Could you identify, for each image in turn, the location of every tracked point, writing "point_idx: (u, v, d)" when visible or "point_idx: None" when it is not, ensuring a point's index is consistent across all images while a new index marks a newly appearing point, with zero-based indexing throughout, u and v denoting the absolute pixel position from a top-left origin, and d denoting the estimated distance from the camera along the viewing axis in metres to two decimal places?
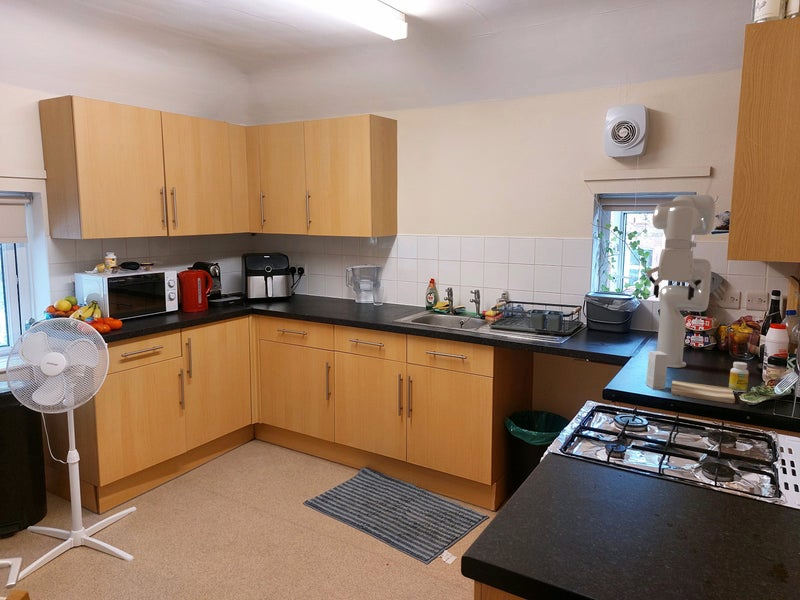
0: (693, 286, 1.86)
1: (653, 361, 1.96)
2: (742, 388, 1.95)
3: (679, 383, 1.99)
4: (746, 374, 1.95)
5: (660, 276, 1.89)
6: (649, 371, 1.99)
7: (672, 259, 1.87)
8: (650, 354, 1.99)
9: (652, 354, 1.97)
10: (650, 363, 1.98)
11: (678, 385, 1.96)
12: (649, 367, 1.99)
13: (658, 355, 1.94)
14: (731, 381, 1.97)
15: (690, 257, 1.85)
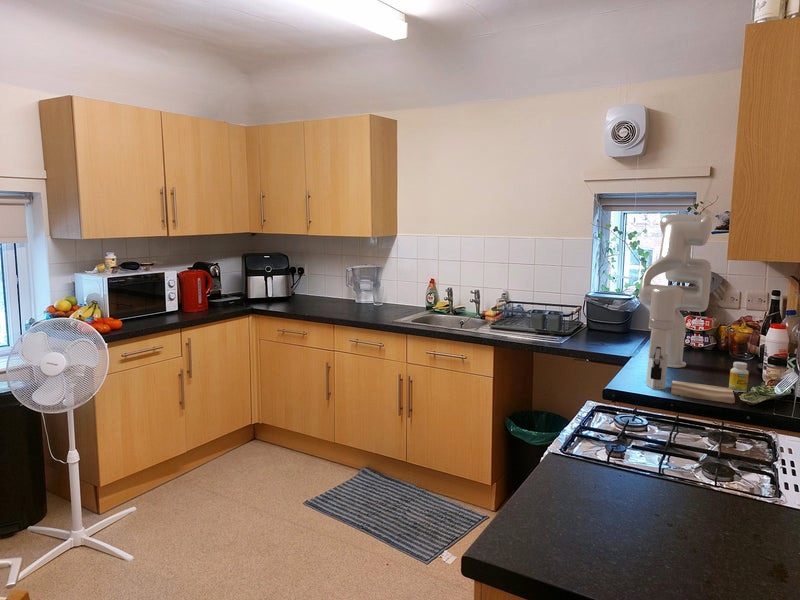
0: None
1: None
2: (742, 388, 1.95)
3: (679, 383, 1.99)
4: (746, 374, 1.95)
5: (664, 357, 1.92)
6: (649, 371, 1.99)
7: (667, 339, 1.94)
8: None
9: None
10: (650, 363, 1.98)
11: (678, 385, 1.96)
12: (649, 367, 1.99)
13: None
14: (731, 381, 1.97)
15: None
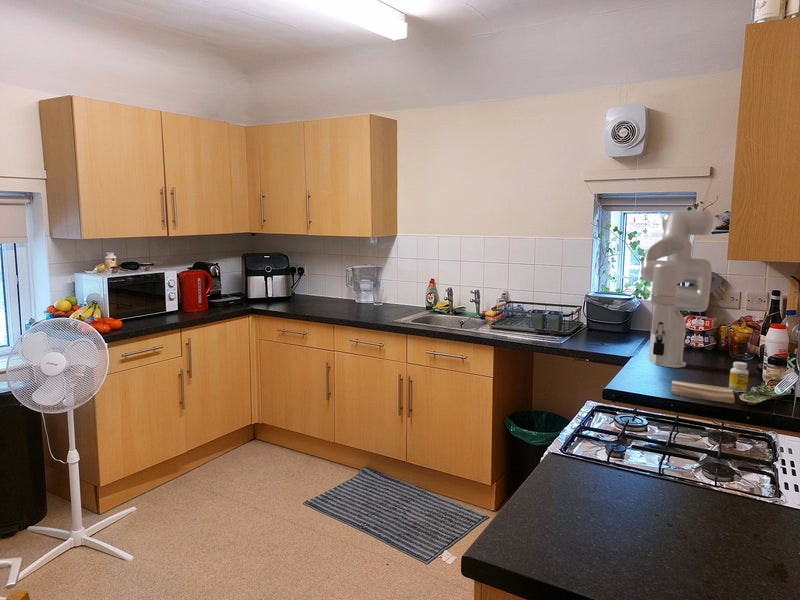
0: None
1: None
2: (742, 388, 1.95)
3: (679, 383, 1.99)
4: (746, 374, 1.95)
5: (666, 332, 1.92)
6: (652, 347, 1.98)
7: (670, 314, 1.93)
8: None
9: None
10: (652, 339, 1.98)
11: (678, 385, 1.96)
12: (651, 343, 1.99)
13: None
14: (731, 381, 1.97)
15: None
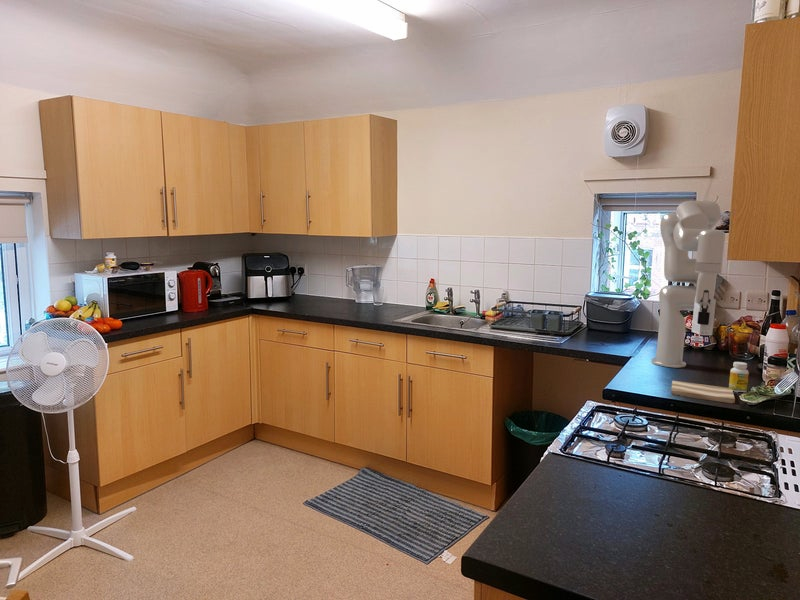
0: None
1: (699, 306, 1.90)
2: (742, 388, 1.95)
3: (679, 383, 1.99)
4: (746, 374, 1.95)
5: (712, 301, 1.86)
6: (696, 317, 1.93)
7: (715, 282, 1.88)
8: None
9: None
10: (696, 309, 1.92)
11: (678, 385, 1.96)
12: (695, 313, 1.93)
13: None
14: (731, 381, 1.97)
15: None
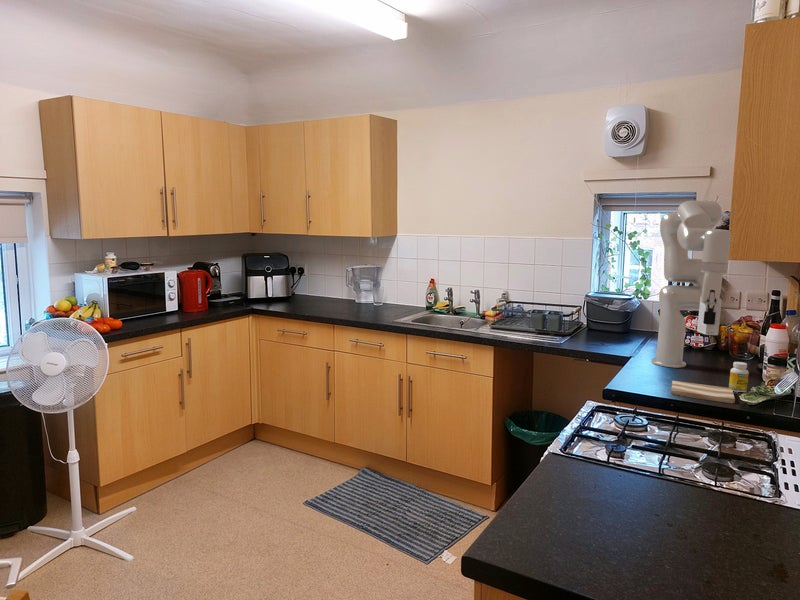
0: None
1: (705, 306, 1.90)
2: (742, 388, 1.95)
3: (679, 383, 1.99)
4: (746, 374, 1.95)
5: (718, 301, 1.86)
6: (701, 317, 1.92)
7: (721, 282, 1.88)
8: None
9: None
10: (702, 308, 1.92)
11: (678, 385, 1.96)
12: (701, 313, 1.92)
13: None
14: (731, 381, 1.97)
15: None
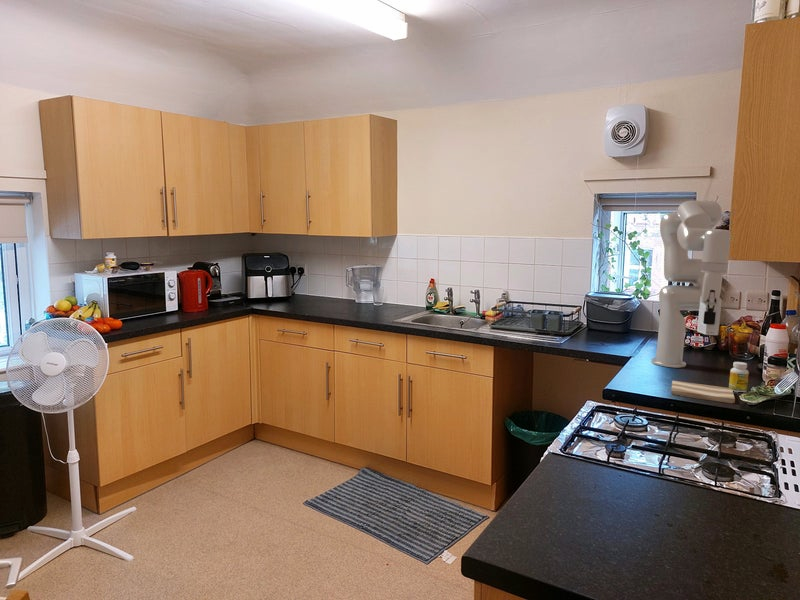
0: None
1: (705, 306, 1.90)
2: (742, 388, 1.95)
3: (679, 383, 1.99)
4: (746, 374, 1.95)
5: (718, 301, 1.86)
6: (701, 317, 1.92)
7: (721, 282, 1.88)
8: None
9: None
10: (702, 308, 1.92)
11: (678, 385, 1.96)
12: (701, 313, 1.92)
13: None
14: (731, 381, 1.97)
15: None
